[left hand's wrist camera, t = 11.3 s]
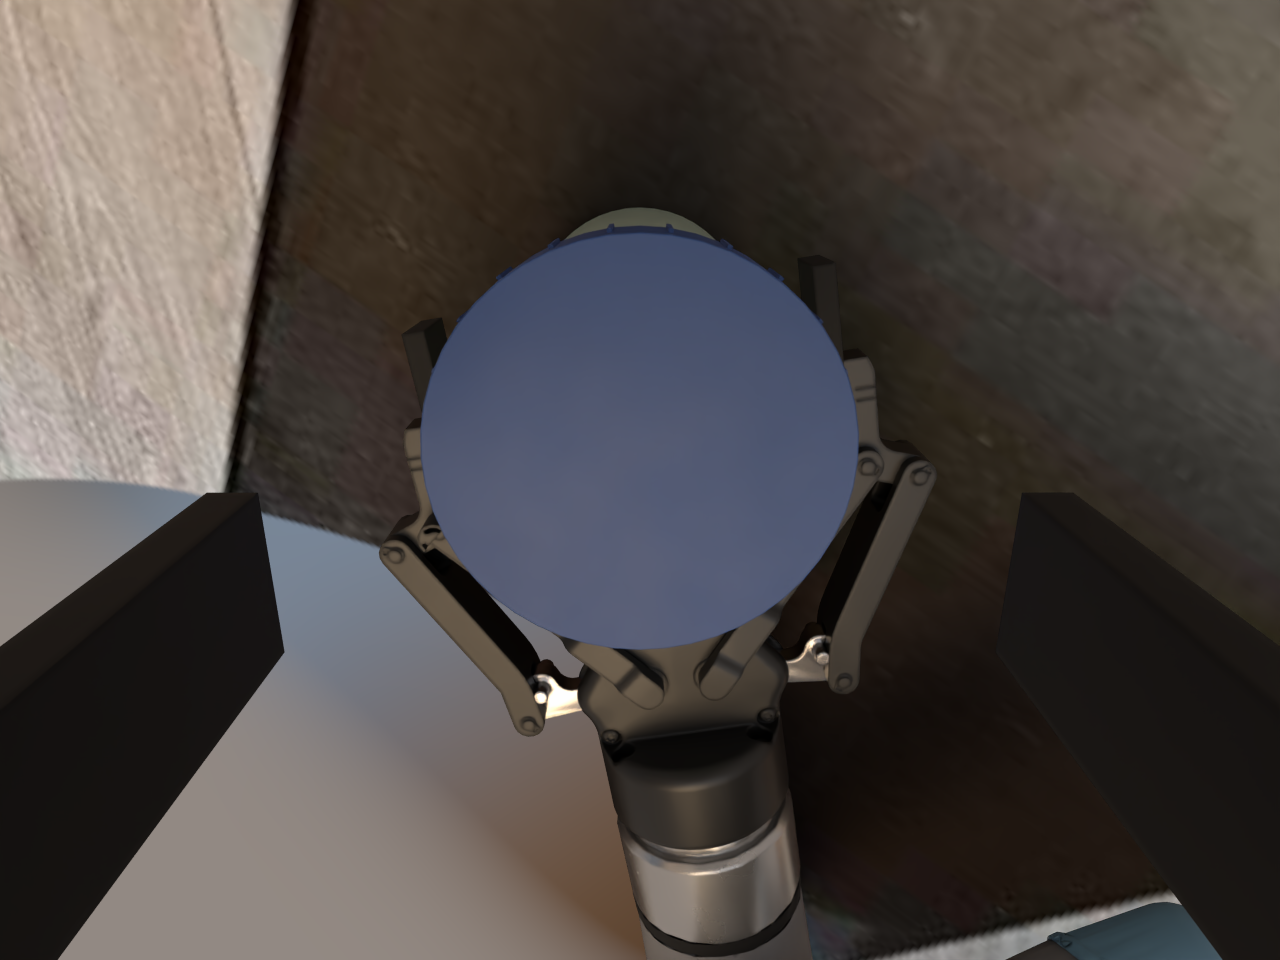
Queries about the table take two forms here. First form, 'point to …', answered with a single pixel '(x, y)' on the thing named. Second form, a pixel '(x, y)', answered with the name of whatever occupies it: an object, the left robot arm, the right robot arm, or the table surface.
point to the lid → (639, 438)
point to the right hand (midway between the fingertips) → (616, 291)
